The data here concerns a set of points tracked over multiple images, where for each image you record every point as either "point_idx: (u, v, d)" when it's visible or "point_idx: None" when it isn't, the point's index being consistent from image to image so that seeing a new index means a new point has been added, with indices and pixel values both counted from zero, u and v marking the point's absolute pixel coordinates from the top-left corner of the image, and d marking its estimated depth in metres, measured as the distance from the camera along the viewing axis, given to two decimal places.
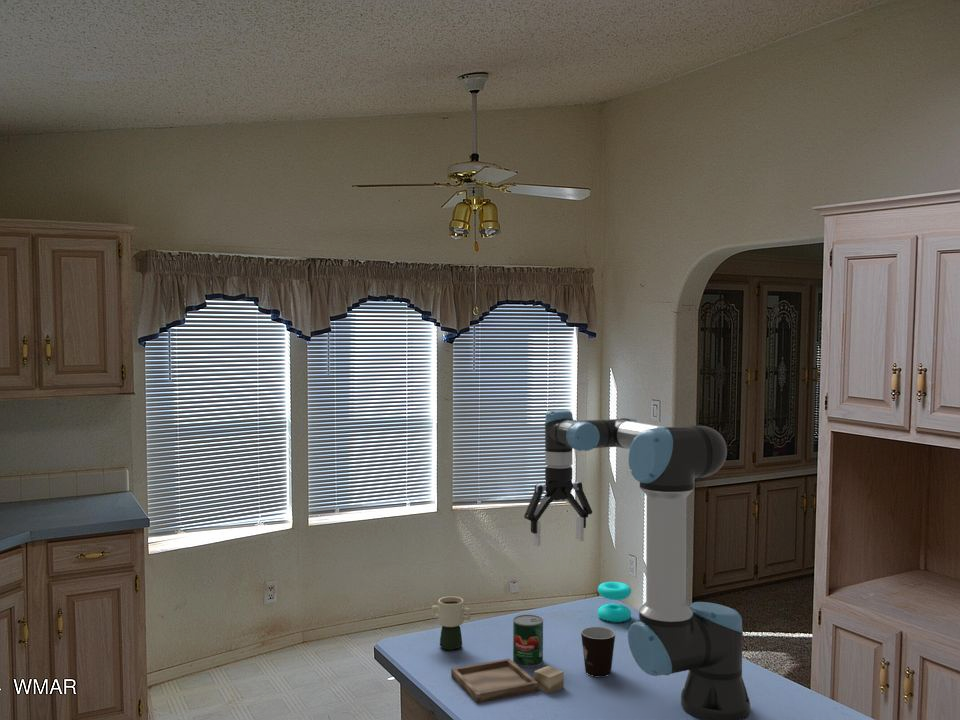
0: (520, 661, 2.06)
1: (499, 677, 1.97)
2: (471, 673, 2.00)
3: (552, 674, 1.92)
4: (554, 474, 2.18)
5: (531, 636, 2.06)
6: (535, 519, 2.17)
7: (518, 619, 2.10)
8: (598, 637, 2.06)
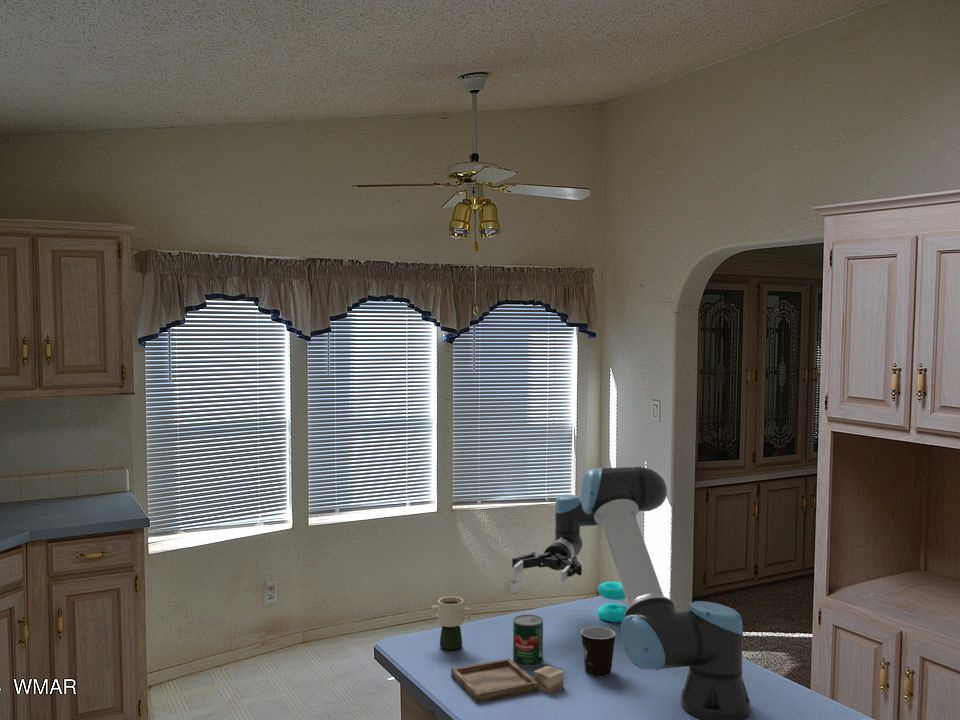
0: (520, 661, 2.06)
1: (499, 677, 1.97)
2: (471, 673, 2.00)
3: (552, 674, 1.92)
4: None
5: (531, 636, 2.06)
6: None
7: (518, 619, 2.10)
8: (598, 637, 2.06)
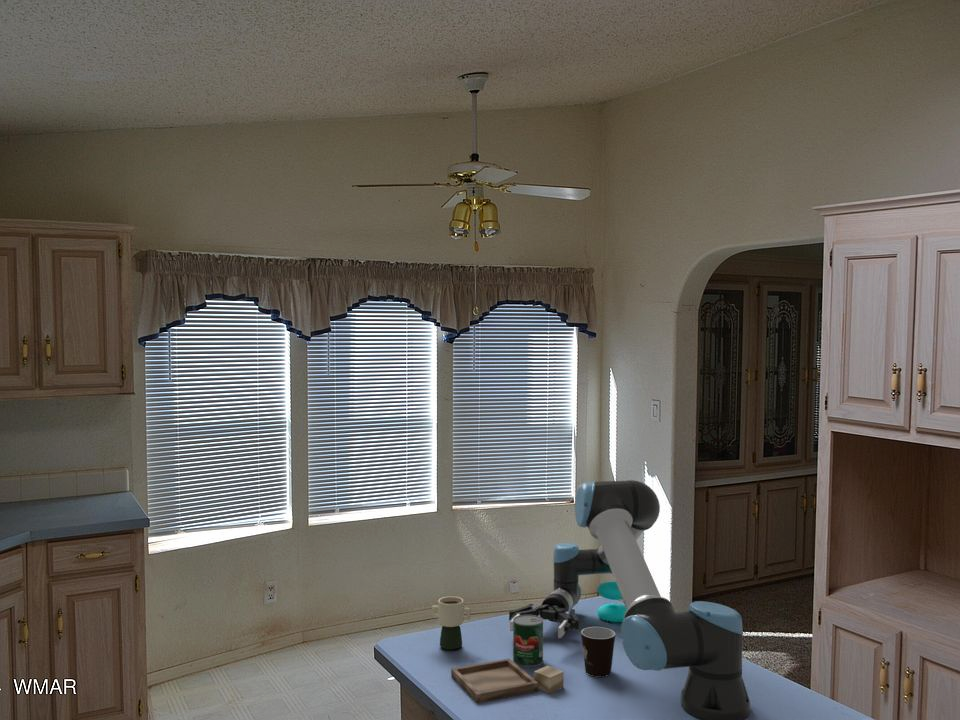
0: (520, 661, 2.06)
1: (499, 677, 1.97)
2: (471, 673, 2.00)
3: (552, 674, 1.92)
4: None
5: (531, 636, 2.06)
6: None
7: (518, 619, 2.10)
8: (598, 637, 2.06)
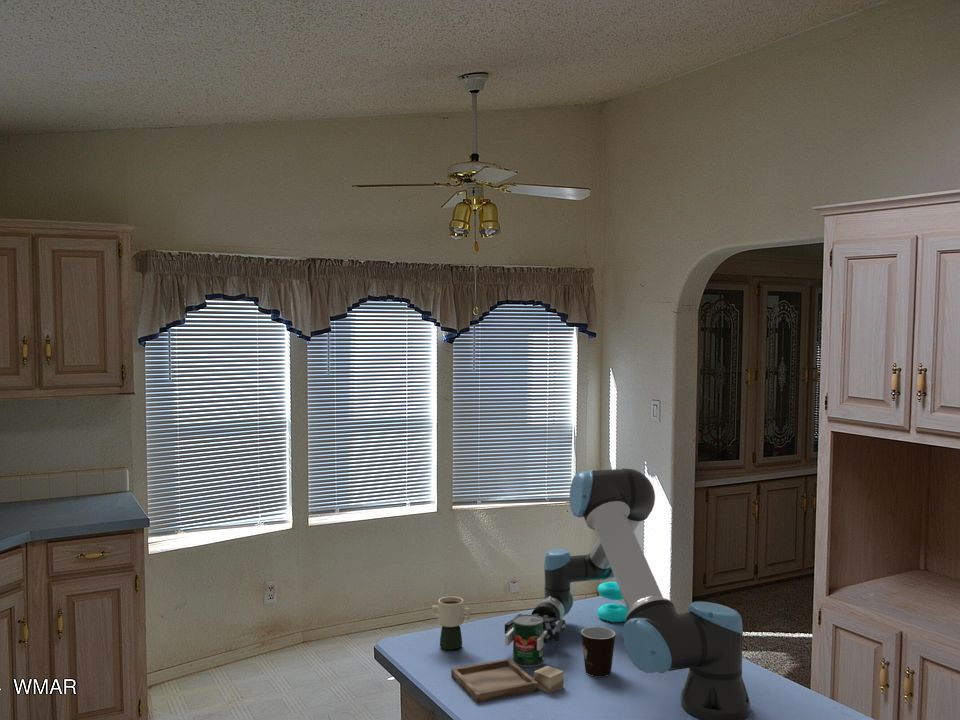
0: (520, 661, 2.06)
1: (499, 677, 1.97)
2: (471, 673, 2.00)
3: (552, 674, 1.92)
4: None
5: (531, 635, 2.06)
6: None
7: (518, 619, 2.10)
8: (598, 637, 2.06)
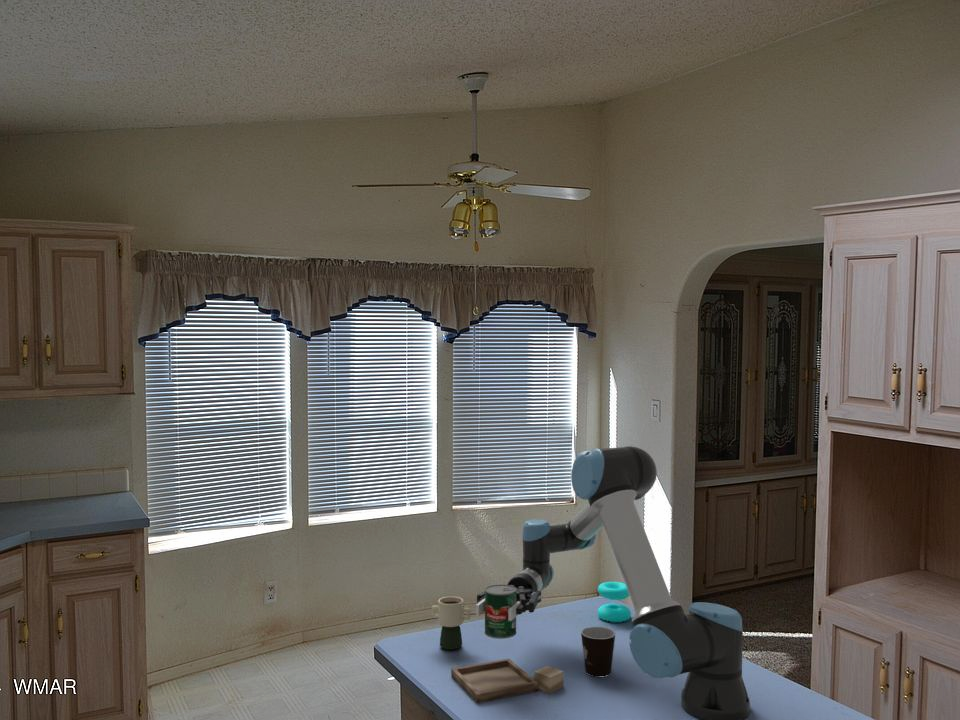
0: (491, 632, 1.96)
1: (499, 677, 1.97)
2: (471, 673, 2.00)
3: (552, 674, 1.92)
4: None
5: (503, 605, 1.95)
6: None
7: (490, 589, 2.00)
8: (598, 637, 2.06)
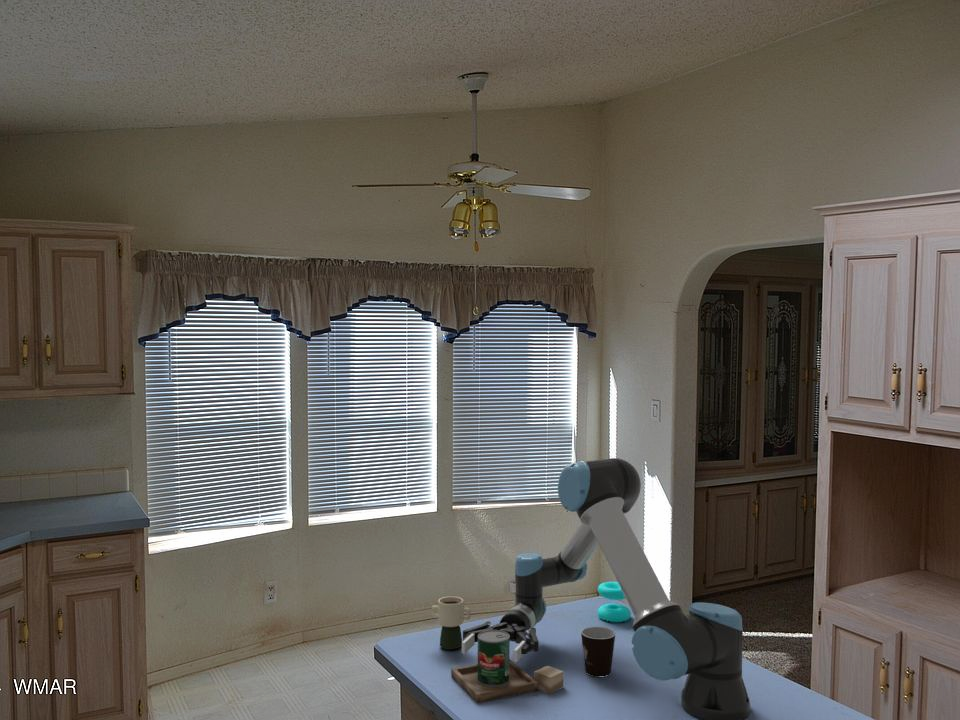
0: (484, 680, 1.93)
1: None
2: (471, 673, 2.00)
3: (552, 674, 1.92)
4: None
5: (496, 653, 1.92)
6: None
7: (483, 635, 1.96)
8: (598, 637, 2.06)
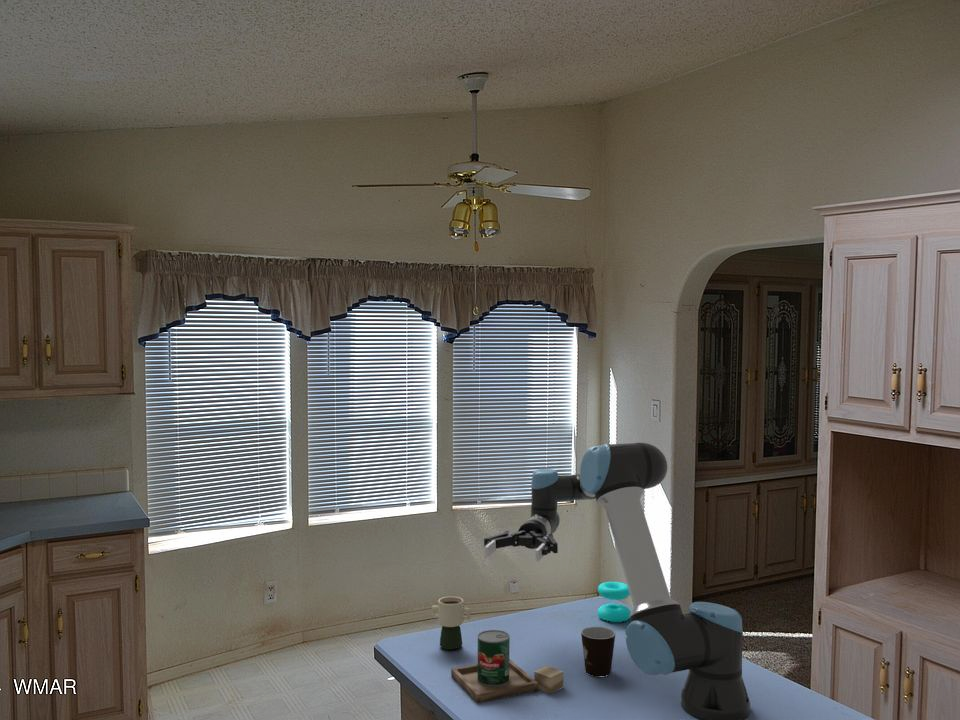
0: (484, 680, 1.93)
1: None
2: (471, 673, 2.00)
3: (552, 674, 1.92)
4: None
5: (496, 653, 1.92)
6: None
7: (483, 635, 1.96)
8: (598, 637, 2.06)
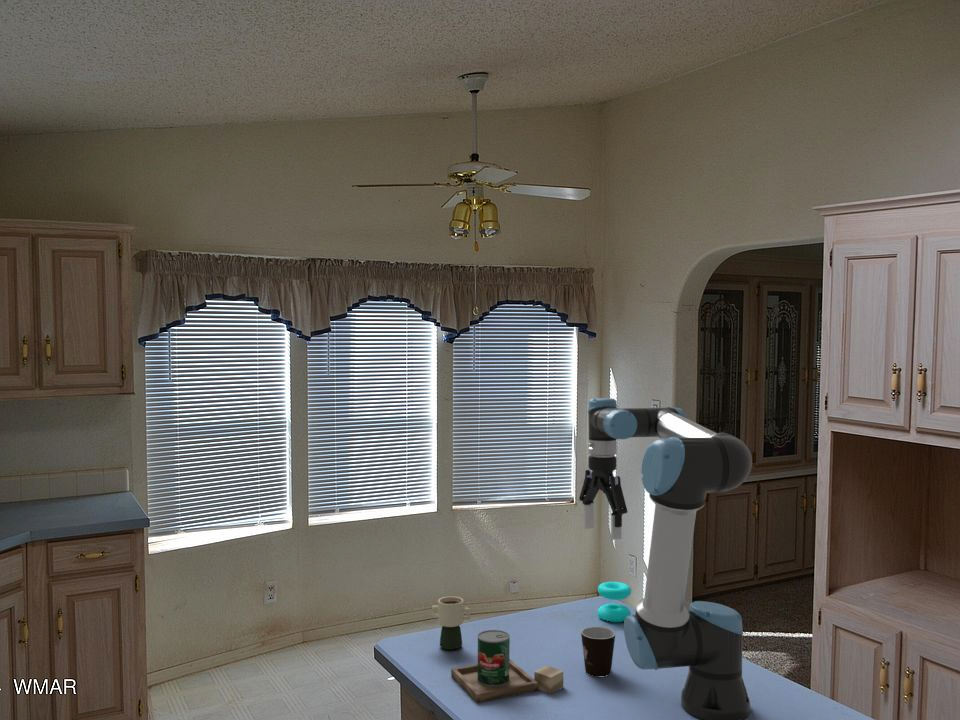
0: (484, 680, 1.93)
1: None
2: (471, 673, 2.00)
3: (552, 674, 1.92)
4: (616, 462, 2.15)
5: (497, 653, 1.92)
6: None
7: (483, 635, 1.96)
8: (598, 637, 2.06)
